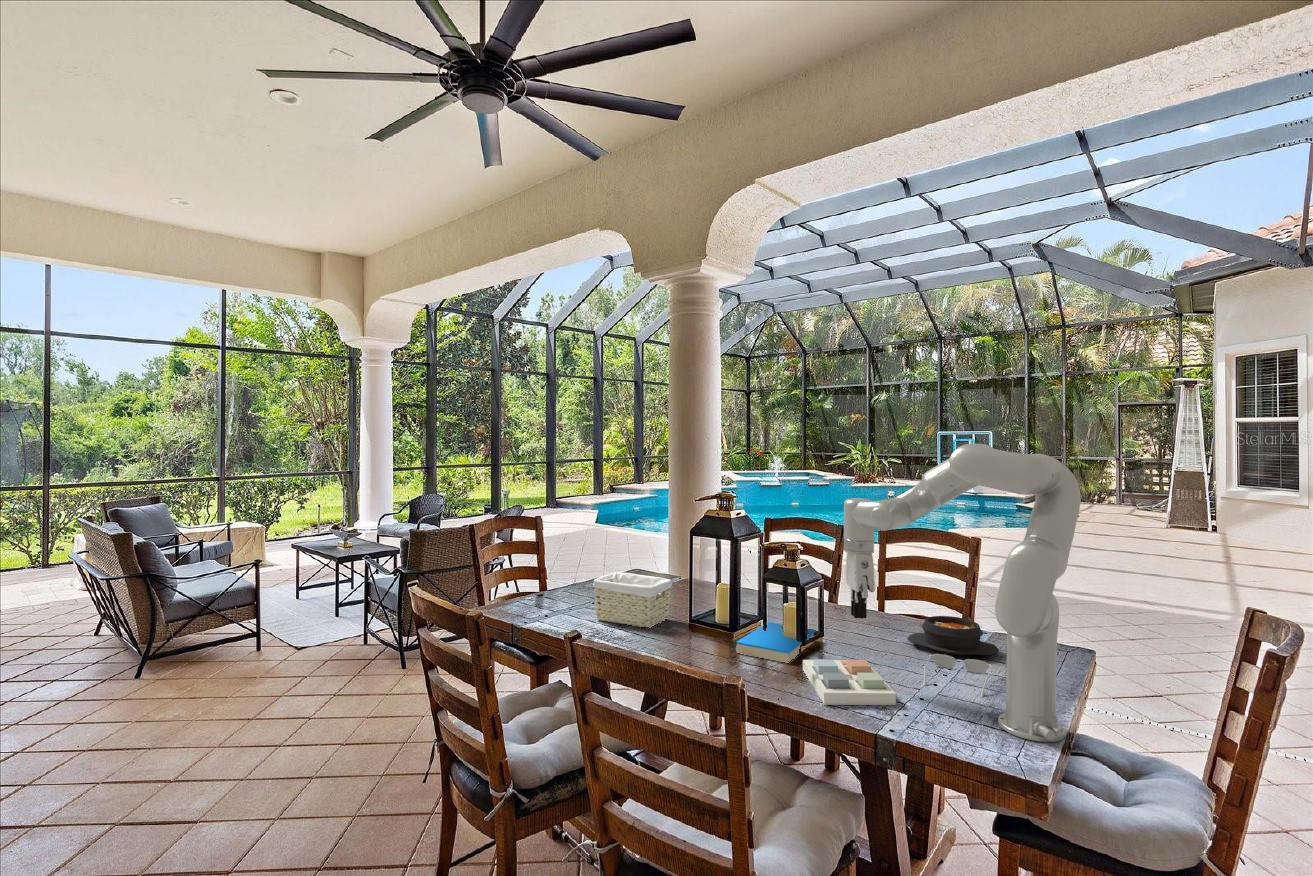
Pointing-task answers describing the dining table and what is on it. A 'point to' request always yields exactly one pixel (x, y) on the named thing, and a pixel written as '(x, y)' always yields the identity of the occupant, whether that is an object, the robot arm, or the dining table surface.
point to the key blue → (825, 666)
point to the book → (770, 644)
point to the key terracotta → (858, 666)
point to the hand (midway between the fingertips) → (858, 616)
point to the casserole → (952, 636)
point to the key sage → (870, 681)
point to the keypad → (851, 695)
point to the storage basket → (632, 599)
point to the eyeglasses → (969, 664)
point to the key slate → (835, 680)
